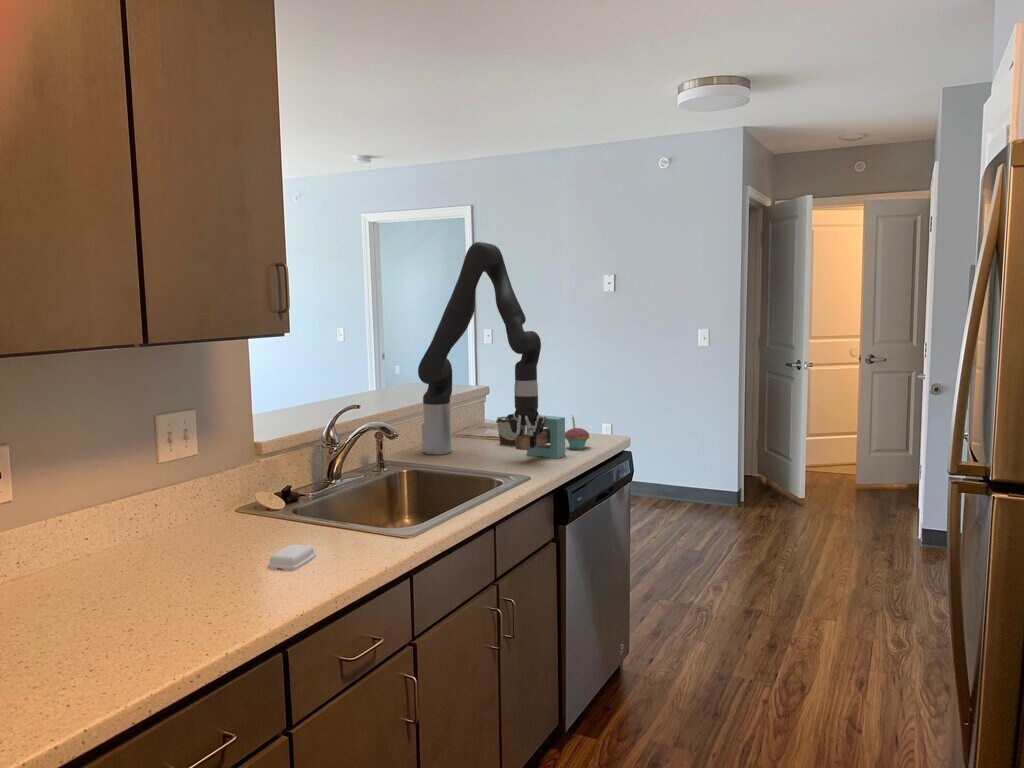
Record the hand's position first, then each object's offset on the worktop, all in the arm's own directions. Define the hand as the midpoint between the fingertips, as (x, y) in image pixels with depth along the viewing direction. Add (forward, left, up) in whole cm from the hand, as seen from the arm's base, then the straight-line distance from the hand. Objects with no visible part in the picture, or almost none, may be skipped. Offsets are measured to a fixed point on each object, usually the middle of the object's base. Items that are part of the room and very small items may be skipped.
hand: (527, 446), depth 241 cm
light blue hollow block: (0, +11, -5) cm, 12 cm away
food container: (-19, +21, -5) cm, 29 cm away
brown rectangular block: (0, +6, 0) cm, 6 cm away
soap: (+10, -102, -6) cm, 103 cm away
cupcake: (+3, +27, -5) cm, 28 cm away
